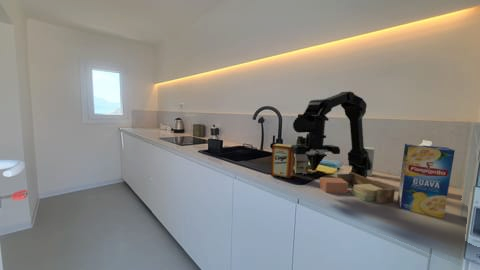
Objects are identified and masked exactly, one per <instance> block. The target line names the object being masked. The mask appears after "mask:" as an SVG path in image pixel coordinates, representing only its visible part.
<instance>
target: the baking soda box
mask: <svg viewBox="0 0 480 270" xmlns="http://www.w3.org/2000/svg"><path fill="white" fill-rule="evenodd" d="M292 145H293V144H292ZM292 145H291V144H287V143H285V144H284V143H283V144H282V143H275V144H272V147H271V149H272V150H271V165H270V166H271V167H270V168H271V169H270V170H271V171H270V176H271V177H276V176H275V175H277V176H283V177H288V178H290V177H291V176H292V175H293V176H294V167H295V153H293V152H290V148H291V146H292ZM293 176H292V177H293ZM292 177H291V178H292ZM291 178H290V179H291Z"/></svg>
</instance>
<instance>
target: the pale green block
mask: <svg viewBox="0 0 480 270" xmlns="http://www.w3.org/2000/svg"><path fill="white" fill-rule="evenodd" d="M377 189H382V188H379V187H377V186H374V185H372V184H359V185H353V188H351V193H350V194H351V195H352V196H354V197H356V198H358V199H359V200H361V201H363V202H374V201H375V202H376V198H377Z"/></svg>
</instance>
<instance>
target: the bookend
mask: <svg viewBox="0 0 480 270" xmlns="http://www.w3.org/2000/svg"><path fill="white" fill-rule="evenodd" d="M336 178H341V179H343V180H344V181H346V182H347V183H348V186H351V185H352V186H354V185H353V179H354V174H349V173H337V174H336Z"/></svg>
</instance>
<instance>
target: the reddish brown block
mask: <svg viewBox="0 0 480 270" xmlns="http://www.w3.org/2000/svg"><path fill="white" fill-rule="evenodd" d="M319 188H320V189H321V190H322V191H323V192H325V193H331V194H332V193H333V194H334V193H336V194H348V190H349V185H348V183H347V182H346V181H344V180H343V179H341V178H337V177H319Z"/></svg>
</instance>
